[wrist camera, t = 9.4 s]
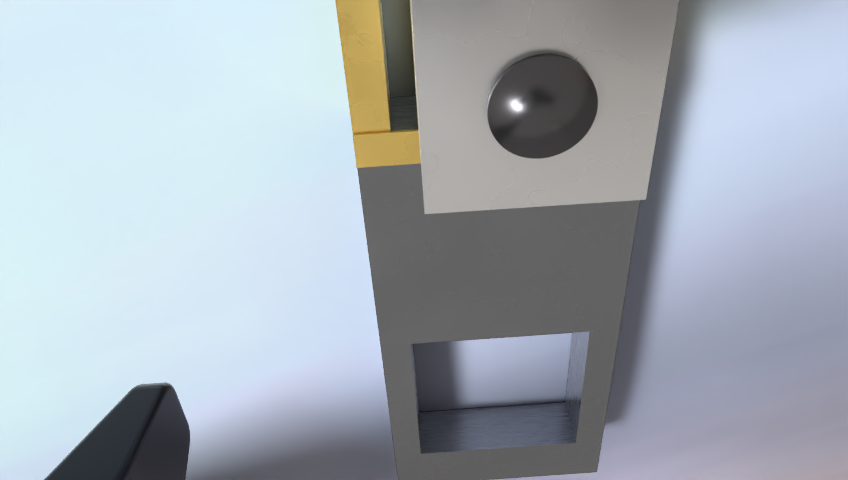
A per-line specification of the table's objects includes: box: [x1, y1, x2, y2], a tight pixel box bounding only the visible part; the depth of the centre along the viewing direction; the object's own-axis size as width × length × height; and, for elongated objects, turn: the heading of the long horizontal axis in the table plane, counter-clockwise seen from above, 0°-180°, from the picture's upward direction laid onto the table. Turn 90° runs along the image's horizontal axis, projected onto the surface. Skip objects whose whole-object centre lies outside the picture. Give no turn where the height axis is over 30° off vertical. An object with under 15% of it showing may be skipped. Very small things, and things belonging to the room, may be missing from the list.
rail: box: [336, 0, 640, 480], centre depth 22 cm, size 24×8×2 cm, turn 3°
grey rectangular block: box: [410, 0, 679, 214], centre depth 16 cm, size 4×4×7 cm
